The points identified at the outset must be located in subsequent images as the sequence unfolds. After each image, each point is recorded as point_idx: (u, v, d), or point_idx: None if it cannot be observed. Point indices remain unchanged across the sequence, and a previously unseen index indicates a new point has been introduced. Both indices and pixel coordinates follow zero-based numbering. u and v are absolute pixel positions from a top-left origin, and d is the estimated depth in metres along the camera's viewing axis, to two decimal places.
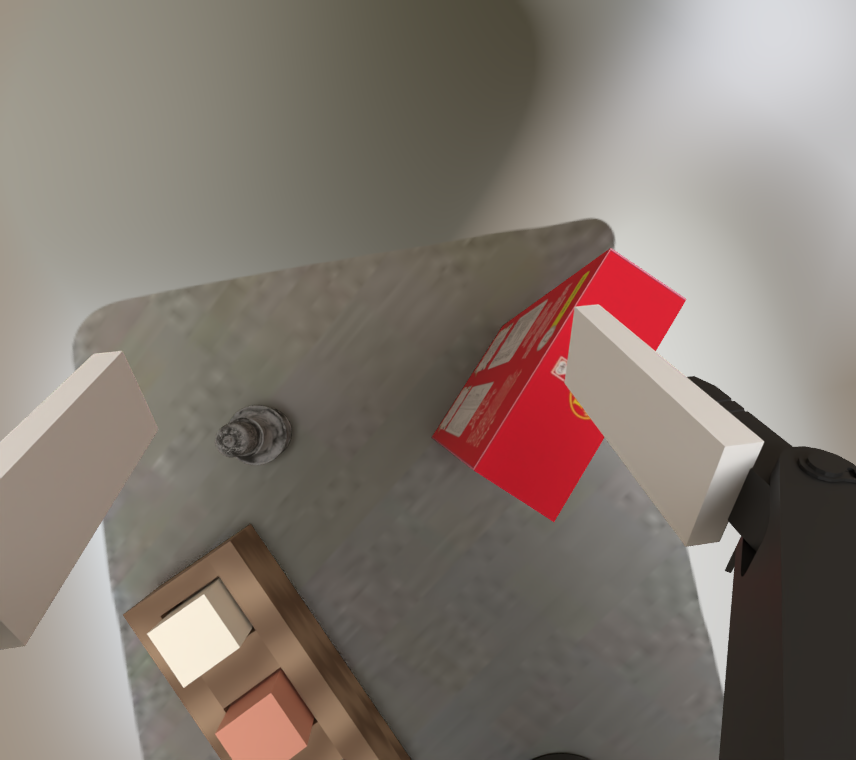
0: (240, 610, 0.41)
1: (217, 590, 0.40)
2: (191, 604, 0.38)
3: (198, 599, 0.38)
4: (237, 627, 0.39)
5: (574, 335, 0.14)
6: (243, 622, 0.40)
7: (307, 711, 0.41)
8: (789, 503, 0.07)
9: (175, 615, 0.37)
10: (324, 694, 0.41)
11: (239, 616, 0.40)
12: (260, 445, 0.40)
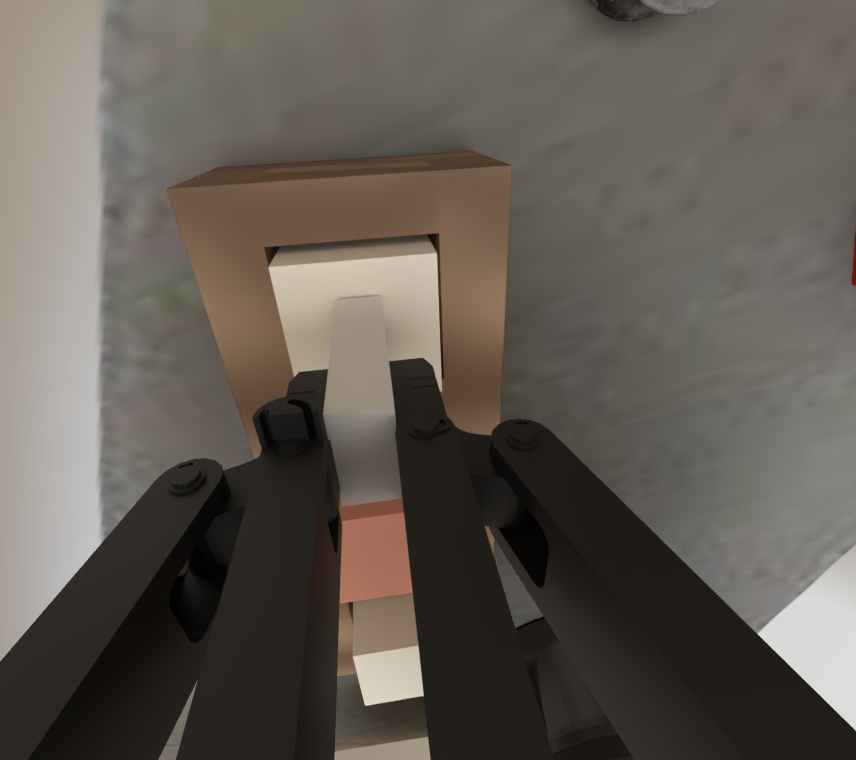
0: None
1: None
2: (398, 259, 0.15)
3: (419, 257, 0.15)
4: None
5: None
6: None
7: None
8: (406, 471, 0.08)
9: (352, 263, 0.14)
10: None
11: None
12: None
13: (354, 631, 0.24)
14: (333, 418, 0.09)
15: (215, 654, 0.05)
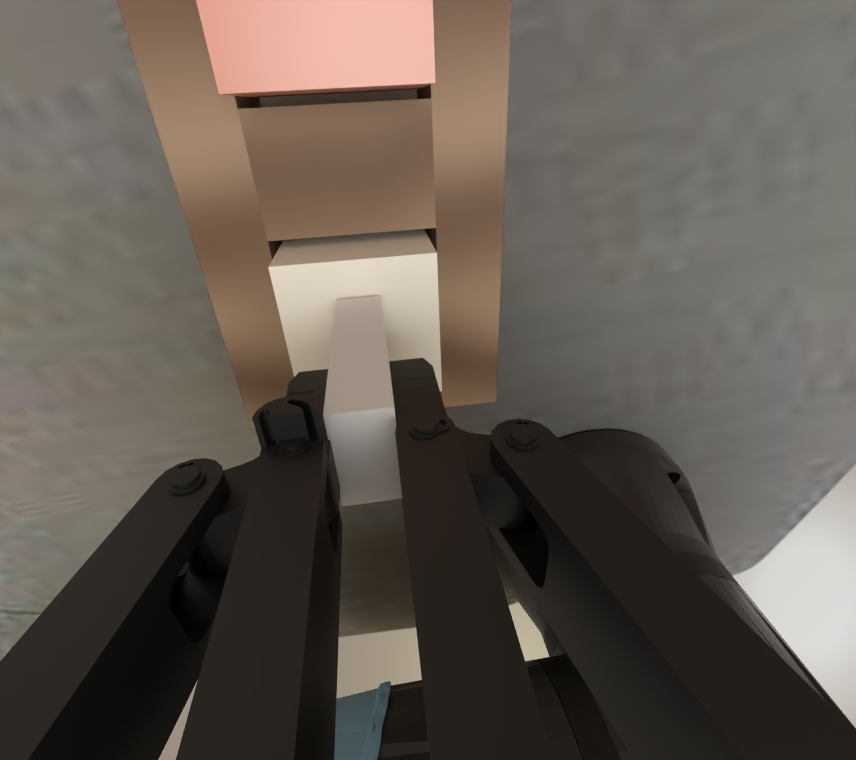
0: None
1: None
2: None
3: None
4: None
5: None
6: None
7: None
8: (406, 471, 0.08)
9: None
10: (485, 32, 0.14)
11: None
12: None
13: (277, 255, 0.15)
14: (333, 418, 0.09)
15: (214, 654, 0.05)
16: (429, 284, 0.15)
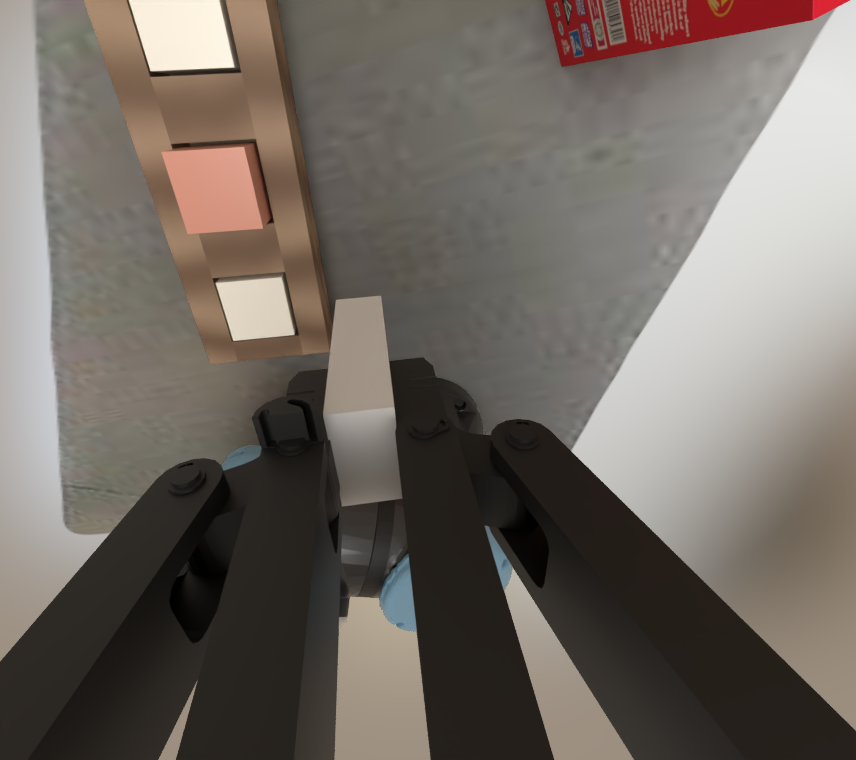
0: None
1: None
2: None
3: None
4: (234, 47, 0.31)
5: None
6: None
7: (267, 206, 0.35)
8: (406, 471, 0.08)
9: None
10: (292, 200, 0.35)
11: None
12: None
13: (220, 277, 0.39)
14: (333, 418, 0.09)
15: (215, 655, 0.05)
16: (280, 289, 0.38)
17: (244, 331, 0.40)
